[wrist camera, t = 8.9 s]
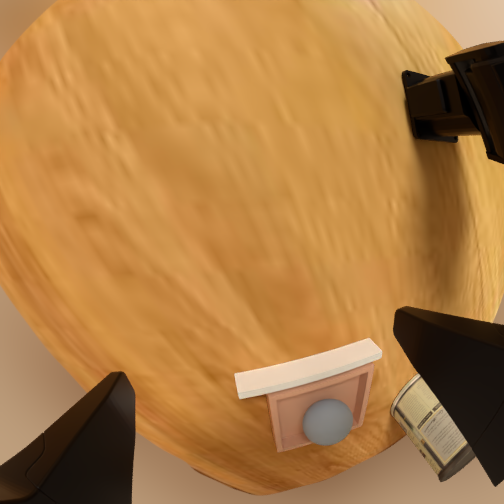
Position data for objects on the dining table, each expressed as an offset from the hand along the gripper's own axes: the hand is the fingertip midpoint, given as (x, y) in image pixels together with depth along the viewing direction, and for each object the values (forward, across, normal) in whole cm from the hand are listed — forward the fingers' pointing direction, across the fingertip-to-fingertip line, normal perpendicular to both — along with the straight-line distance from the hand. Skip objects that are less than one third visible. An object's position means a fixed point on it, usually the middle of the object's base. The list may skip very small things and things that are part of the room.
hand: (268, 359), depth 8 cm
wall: (+12, -5, +11) cm, 17 cm away
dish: (+12, -6, +18) cm, 22 cm away
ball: (+11, -6, +18) cm, 22 cm away
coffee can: (+12, -22, +25) cm, 35 cm away
